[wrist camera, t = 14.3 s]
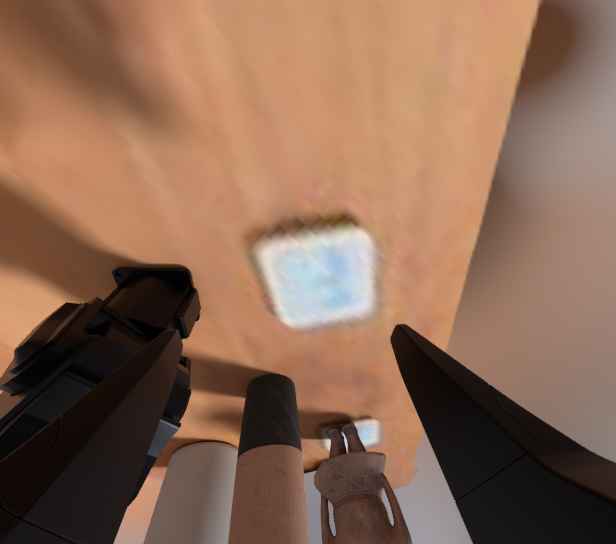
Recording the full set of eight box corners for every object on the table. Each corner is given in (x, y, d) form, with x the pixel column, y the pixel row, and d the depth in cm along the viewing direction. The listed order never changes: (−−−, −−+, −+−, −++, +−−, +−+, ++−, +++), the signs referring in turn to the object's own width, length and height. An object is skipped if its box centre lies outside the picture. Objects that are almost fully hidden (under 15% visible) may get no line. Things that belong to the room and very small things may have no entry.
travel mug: (282, 366, 31) (290, 639, 14) (304, 391, 35) (330, 626, 19) (234, 384, 32) (190, 661, 15) (261, 407, 36) (250, 644, 20)
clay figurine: (368, 408, 41) (464, 699, 20) (377, 429, 46) (461, 675, 26) (302, 429, 42) (329, 723, 21) (319, 447, 48) (354, 696, 27)
